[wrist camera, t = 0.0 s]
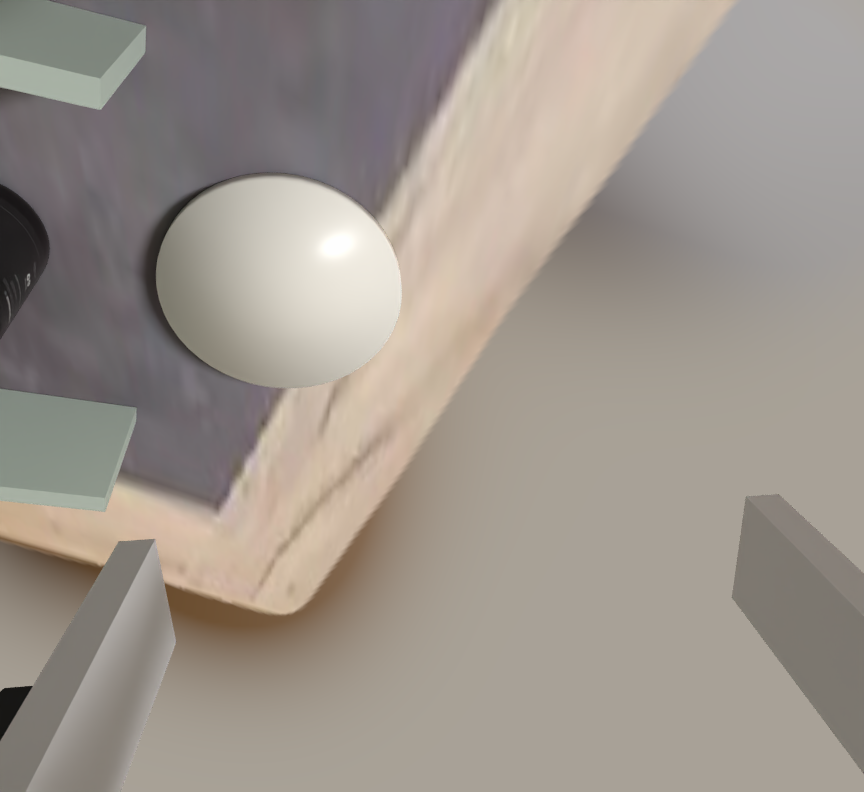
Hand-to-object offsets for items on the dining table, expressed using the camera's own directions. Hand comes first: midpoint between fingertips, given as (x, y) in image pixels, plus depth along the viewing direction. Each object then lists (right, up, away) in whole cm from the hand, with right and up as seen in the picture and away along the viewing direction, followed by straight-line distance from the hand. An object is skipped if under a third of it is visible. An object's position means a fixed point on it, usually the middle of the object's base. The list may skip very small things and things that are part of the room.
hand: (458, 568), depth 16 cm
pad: (-9, +10, +27) cm, 30 cm away
